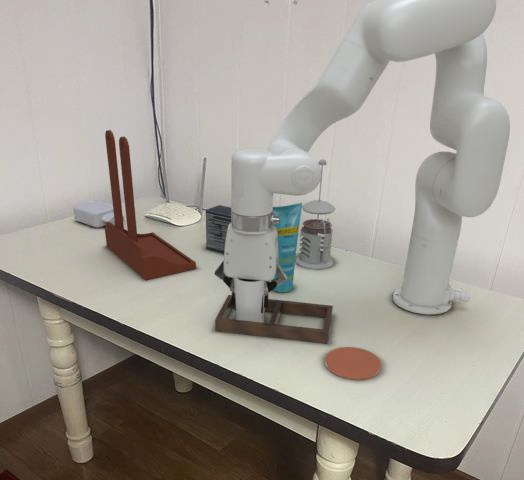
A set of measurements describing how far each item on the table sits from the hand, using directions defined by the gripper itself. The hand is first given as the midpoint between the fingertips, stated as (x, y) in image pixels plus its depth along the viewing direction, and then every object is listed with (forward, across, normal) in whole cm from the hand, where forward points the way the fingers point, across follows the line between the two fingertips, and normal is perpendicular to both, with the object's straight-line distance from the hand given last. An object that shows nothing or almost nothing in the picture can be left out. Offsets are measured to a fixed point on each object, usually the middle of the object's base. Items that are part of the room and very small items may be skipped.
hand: (249, 308), depth 113 cm
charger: (+3, +52, -48) cm, 71 cm away
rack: (+3, -5, 0) cm, 6 cm away
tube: (+3, -4, -17) cm, 18 cm away
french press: (+3, -10, -34) cm, 36 cm away
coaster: (+3, -21, +12) cm, 25 cm away
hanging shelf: (+3, +31, -27) cm, 41 cm away
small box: (+3, +13, -37) cm, 39 cm away
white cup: (+3, 0, 0) cm, 3 cm away
